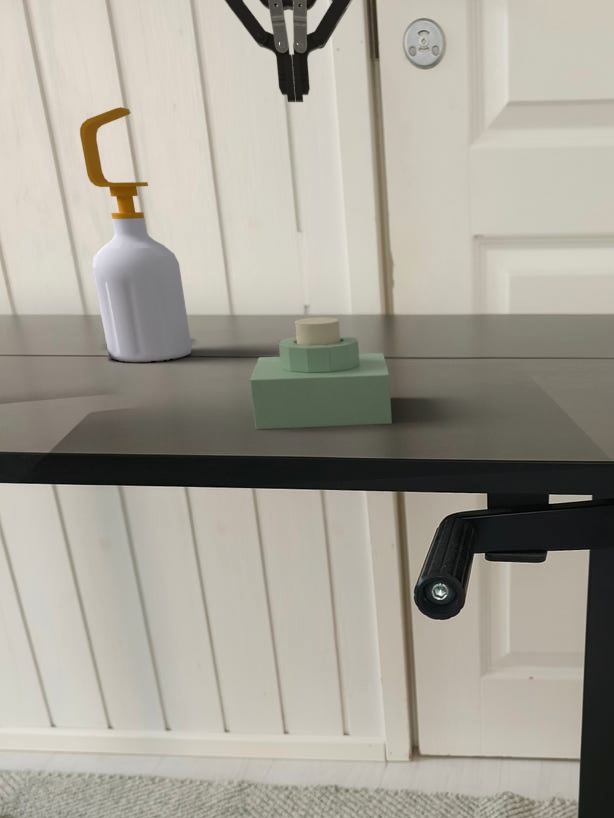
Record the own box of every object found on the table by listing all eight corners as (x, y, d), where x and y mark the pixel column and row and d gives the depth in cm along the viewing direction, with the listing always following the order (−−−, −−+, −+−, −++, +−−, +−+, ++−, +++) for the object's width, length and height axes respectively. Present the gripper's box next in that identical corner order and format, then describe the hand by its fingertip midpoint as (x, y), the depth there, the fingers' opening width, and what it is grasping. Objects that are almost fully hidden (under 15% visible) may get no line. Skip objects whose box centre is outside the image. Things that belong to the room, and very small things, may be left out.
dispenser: (255, 430, 74) (246, 353, 71) (264, 402, 83) (255, 333, 80) (391, 424, 75) (387, 348, 72) (385, 397, 84) (381, 329, 81)
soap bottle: (183, 362, 101) (143, 105, 90) (99, 364, 100) (48, 105, 89) (199, 348, 109) (165, 110, 98) (122, 350, 108) (78, 111, 97)
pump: (296, 350, 75) (293, 324, 74) (298, 343, 78) (295, 318, 77) (341, 349, 75) (339, 322, 74) (340, 341, 78) (338, 316, 77)
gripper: (192, -148, 75) (220, 98, 83) (355, -141, 77) (367, 99, 84) (203, -121, 81) (228, 104, 89) (352, -115, 83) (364, 105, 91)
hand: (295, 101), depth 87 cm, fingers closed
